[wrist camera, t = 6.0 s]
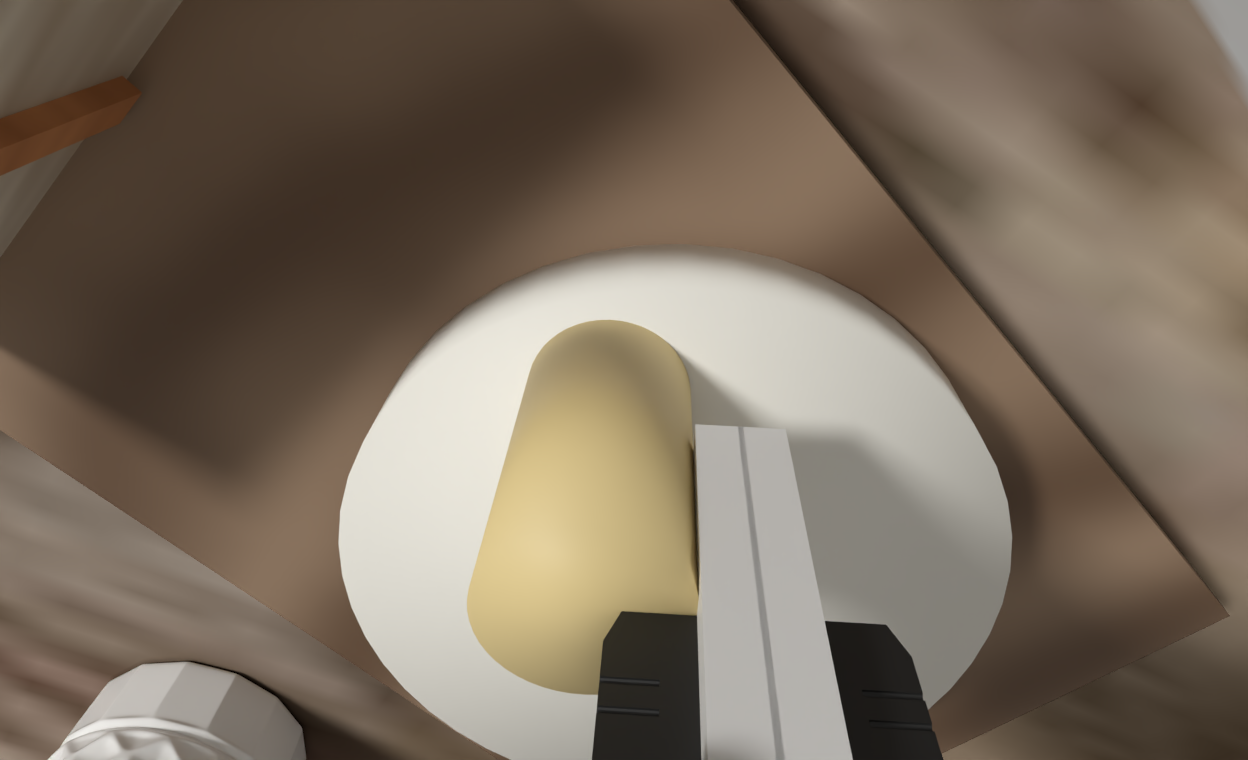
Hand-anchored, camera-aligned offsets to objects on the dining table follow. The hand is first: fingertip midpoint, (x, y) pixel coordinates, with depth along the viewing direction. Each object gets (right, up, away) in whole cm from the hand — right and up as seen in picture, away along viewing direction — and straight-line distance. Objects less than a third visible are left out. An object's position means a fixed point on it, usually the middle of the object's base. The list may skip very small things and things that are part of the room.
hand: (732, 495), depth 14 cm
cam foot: (-1, -2, +6) cm, 6 cm away
